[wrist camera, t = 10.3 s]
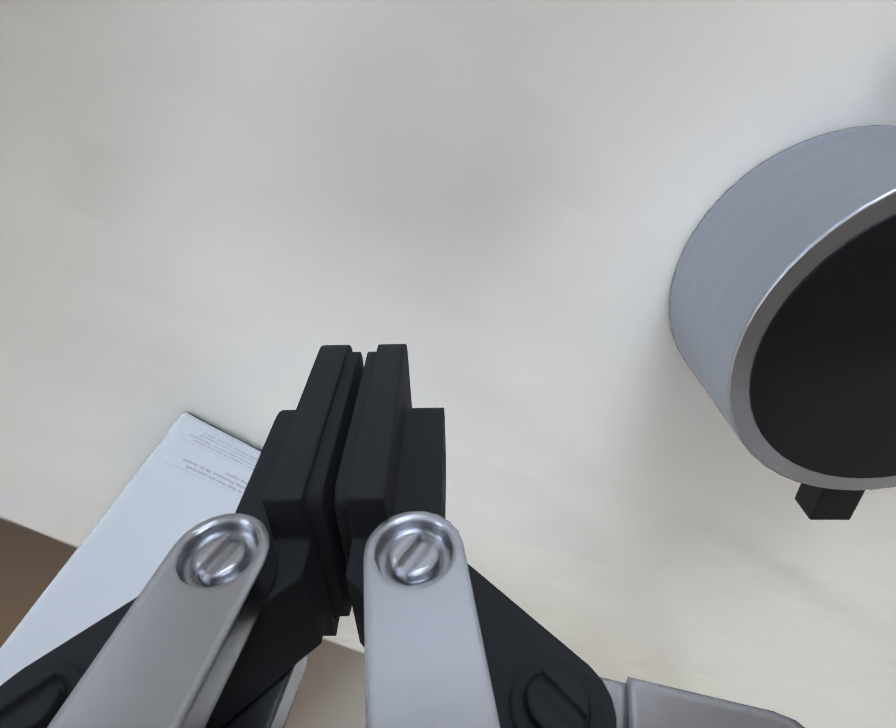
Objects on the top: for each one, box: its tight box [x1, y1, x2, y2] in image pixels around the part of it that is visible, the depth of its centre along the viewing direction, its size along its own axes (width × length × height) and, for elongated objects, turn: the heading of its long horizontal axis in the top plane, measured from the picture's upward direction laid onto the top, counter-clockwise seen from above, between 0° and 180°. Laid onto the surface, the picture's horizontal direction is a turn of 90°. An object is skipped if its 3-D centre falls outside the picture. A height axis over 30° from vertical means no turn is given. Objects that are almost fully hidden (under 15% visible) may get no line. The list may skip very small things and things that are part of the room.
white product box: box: [0, 413, 261, 686], centre depth 23 cm, size 9×9×15 cm
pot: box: [669, 125, 896, 520], centre depth 19 cm, size 16×12×6 cm
